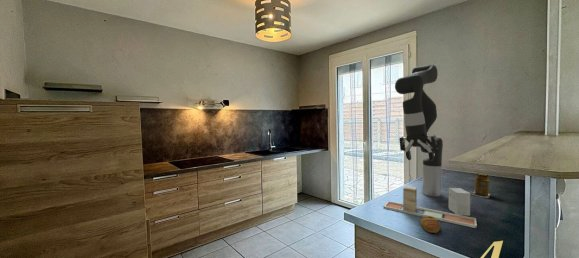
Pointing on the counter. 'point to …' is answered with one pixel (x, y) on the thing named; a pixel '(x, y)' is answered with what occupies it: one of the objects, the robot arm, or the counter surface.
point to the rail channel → (434, 216)
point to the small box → (459, 201)
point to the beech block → (409, 198)
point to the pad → (433, 214)
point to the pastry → (430, 224)
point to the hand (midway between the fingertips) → (420, 160)
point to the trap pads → (444, 218)
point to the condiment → (481, 185)
